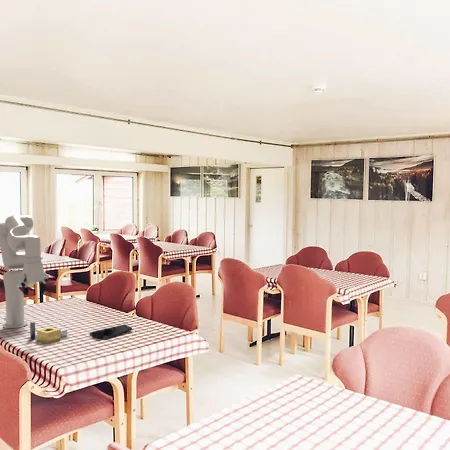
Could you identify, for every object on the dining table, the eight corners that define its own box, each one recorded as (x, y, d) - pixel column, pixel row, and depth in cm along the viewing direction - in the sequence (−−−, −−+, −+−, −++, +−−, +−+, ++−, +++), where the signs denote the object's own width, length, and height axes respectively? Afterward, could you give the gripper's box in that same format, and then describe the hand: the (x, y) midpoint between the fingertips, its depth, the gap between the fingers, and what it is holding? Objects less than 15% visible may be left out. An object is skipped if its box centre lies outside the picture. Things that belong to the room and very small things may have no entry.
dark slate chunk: (136, 332, 265) (136, 324, 265) (102, 341, 249) (102, 332, 249) (119, 327, 275) (119, 319, 275) (85, 336, 259) (85, 327, 259)
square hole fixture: (26, 340, 248) (25, 328, 248) (51, 333, 261) (50, 322, 260) (48, 347, 238) (47, 334, 238) (72, 339, 251) (72, 327, 250)
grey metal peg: (29, 338, 248) (29, 322, 247) (33, 337, 250) (33, 321, 249) (32, 339, 246) (31, 323, 246) (36, 337, 248) (36, 322, 248)
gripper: (43, 258, 258) (44, 290, 258) (13, 261, 243) (14, 295, 244) (52, 258, 254) (53, 291, 254) (22, 262, 239) (23, 296, 240)
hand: (34, 293), depth 249 cm, fingers open, 9 cm apart
